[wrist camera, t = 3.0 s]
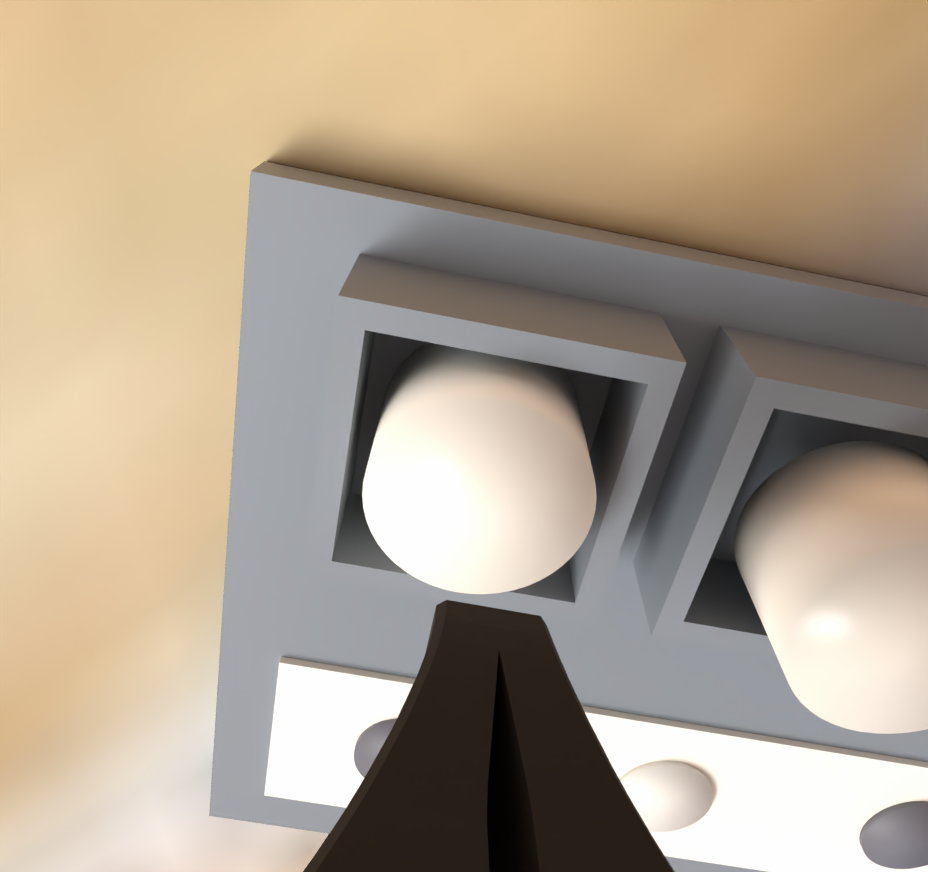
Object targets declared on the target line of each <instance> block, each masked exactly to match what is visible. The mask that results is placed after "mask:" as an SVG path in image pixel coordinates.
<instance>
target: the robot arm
mask: <svg viewBox="0 0 928 872" xmlns="http://www.w3.org/2000/svg"><path fill="white" fill-rule="evenodd" d="M303 872H675V871H674V870H673V868H672V867H671V865H670V863H669V862H668V860H667V859H666V857H665V856H664V854H663V852H662V851H661V849H660V848H659V846H658V844H657V843H656V841H655V840H654V838H653V836H652V835H651V833H650V831H649V830H648V828H647V826H646V825H645V823H644V821H643V819H642V818H641V816H640V814H639V813H638V811H637V809H636V808H635V806H634V804H633V802H632V801H631V799H630V797H629V796H628V794H627V792H626V790H625V788H624V787H623V785H622V783H621V781H620V779H619V778H618V776H617V774H616V772H615V770H614V769H613V767H612V765H611V763H610V761H609V759H608V757H607V755H606V753H605V751H604V749H603V747H602V745H601V743H600V742H599V740H598V738H597V736H596V734H595V732H594V730H593V728H592V726H591V724H590V722H589V720H588V718H587V716H586V714H585V712H584V710H583V708H582V706H581V704H580V701H579V699H578V697H577V695H576V693H575V691H574V688H573V686H572V684H571V682H570V680H569V678H568V675H567V673H566V671H565V668H564V666H563V664H562V662H561V659H560V657H559V654H558V652H557V650H556V647H555V645H554V642H553V640H552V638H551V635H550V632H549V630H548V627H547V625H546V623H545V622H544V620H543V619H542V617H541V616H539V615H533V614H527V613H521V612H515V611H509V610H504V609H498V608H492V607H486V606H480V605H475V604H469V603H463V602H457V601H451V600H445V601H443V602H441V603H440V604H438V605H436V609H435V613H434V617H433V622H432V626H431V631H430V635H429V639H428V644H427V648H426V653H425V656H424V659H423V661H422V664H421V667H420V669H419V672H418V674H417V677H416V679H415V681H414V683H413V685H412V688H411V690H410V692H409V694H408V696H407V698H406V701H405V703H404V705H403V707H402V709H401V711H400V713H399V716H398V718H397V720H396V722H395V724H394V726H393V728H392V729H391V731H390V733H389V735H388V737H387V739H386V740H385V742H384V744H383V746H382V748H381V749H380V751H379V753H378V755H377V756H376V758H375V760H374V762H373V764H372V765H371V767H370V769H369V771H368V772H367V774H366V776H365V778H364V780H363V781H362V783H361V785H360V786H359V788H358V790H357V791H356V793H355V794H354V796H353V798H352V799H351V801H350V803H349V804H348V806H347V807H346V809H345V811H344V812H343V814H342V815H341V817H340V818H339V820H338V821H337V823H336V824H335V826H334V827H333V829H332V830H331V832H330V833H329V835H328V836H327V838H326V839H325V841H324V842H323V844H322V845H321V847H320V848H319V850H318V851H317V853H316V854H315V856H314V857H313V859H312V860H311V861H310V863H309V864H308V866H307V867H306V868H305V870H304V871H303Z"/></svg>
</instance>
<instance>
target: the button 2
mask: <svg viewBox="0 0 928 872" xmlns="http://www.w3.org/2000/svg"><path fill="white" fill-rule="evenodd" d="M596 498H597V497H596V484H595V479H594V475H593V470H592V465H591V461H590V456H589V452H588V447H587V443H586V438H585V433H584V429H583V424H582V420H581V415H580V411H579V406H578V402H577V397H576V393H575V391H574V388H573V386H572V383H571V381H570V380H569V378H568V376H567V374H566V373H565V371H564V370H563V369H562V368H560V367H555V366H550V365H544V364H539V363H534V362H529V361H524V360H518V359H513V358H508V357H503V356H497V355H492V354H487V353H482V352H476V351H471V350H466V349H461V348H456V347H450V346H445V345H440V344H435V343H427V344H426V345H424V346H422V347H421V348H420V349H418V350H417V351H415V352H414V353H413V354H412V355H411V356H410V357H409V358H408V359H407V360H406V361H405V362H404V363H403V364H402V365H401V367H400V368H399V369H398V370H397V372H396V374H395V375H394V377H393V379H392V380H391V382H390V385H389V387H388V390H387V392H386V396H385V400H384V404H383V407H382V411H381V415H380V419H379V423H378V426H377V430H376V434H375V438H374V442H373V445H372V449H371V453H370V457H369V461H368V464H367V468H366V472H365V476H364V481H363V491H362V499H363V509H364V513H365V517H366V521H367V524H368V526H369V529H370V531H371V533H372V535H373V537H374V538H375V540H376V542H377V544H378V545H379V546H380V547H381V549H382V550H383V551H384V553H385V554H386V555H387V556H388V557H389V558H390V559H391V560H392V561H393V562H394V563H395V564H396V565H398V566H399V567H400V568H401V569H403V570H404V571H405V572H407V573H408V574H410V575H412V576H413V577H415V578H417V579H419V580H421V581H423V582H425V583H427V584H429V585H432V586H435V587H438V588H441V589H444V590H449V591H453V592H458V593H467V594H494V593H502V592H507V591H513V590H516V589H519V588H523V587H526V586H529V585H531V584H533V583H536V582H538V581H540V580H542V579H544V578H545V577H547V576H549V575H551V574H552V573H554V572H555V571H556V570H558V569H559V568H560V567H562V566H563V565H564V564H565V563H566V562H567V561H568V560H569V559H570V558H571V557H572V556H573V555H574V554H575V553H576V551H577V550H578V549H579V547H580V546H581V545H582V543H583V541H584V540H585V538H586V536H587V534H588V532H589V530H590V527H591V525H592V522H593V518H594V514H595V509H596Z"/></svg>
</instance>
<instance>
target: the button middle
mask: <svg viewBox="0 0 928 872" xmlns="http://www.w3.org/2000/svg"><path fill="white" fill-rule="evenodd" d="M734 554H735V560H736V563H737V566H738V569H739V571H740V574H741V576H742V578H743V581H744V583H745V585H746V587H747V590H748V592H749V594H750V597H751V599H752V601H753V603H754V606H755V608H756V610H757V613H758V615H759V617H760V619H761V622H762V624H763V626H764V629H765V631H766V633H767V635H768V638H769V640H770V642H771V645H772V647H773V649H774V651H775V654H776V656H777V658H778V661H779V663H780V665H781V667H782V670H783V672H784V674H785V677H786V679H787V681H788V683H789V685H790V687H791V689H792V691H793V693H794V694H795V696H796V697H797V698H798V700H799V701H800V702H801V703H802V704H803V705H804V706H805V707H806V708H807V709H808V710H809V711H811V712H812V713H814V714H815V715H817V716H818V717H820V718H821V719H823V720H825V721H827V722H830V723H832V724H834V725H837V726H840V727H843V728H846V729H850V730H855V731H859V732H867V733H875V734H897V733H909V732H915V731H922V730H927V729H928V461H927V460H926V459H925V458H924V457H922V456H920V455H919V454H917V453H915V452H914V451H911V450H909V449H906V448H904V447H902V446H898V445H894V444H890V443H885V442H878V441H851V442H842V443H837V444H833V445H828V446H825V447H822V448H819V449H815V450H813V451H810V452H808V453H806V454H803V455H801V456H799V457H797V458H795V459H794V460H792V461H790V462H788V463H786V464H785V465H784V466H782V467H781V468H779V469H778V470H776V471H775V472H774V473H773V474H771V475H770V476H769V477H768V478H767V479H766V480H765V481H764V482H763V483H762V484H761V485H760V486H759V487H758V488H757V489H756V490H755V491H754V493H753V494H752V495H751V497H750V498H749V500H748V501H747V503H746V504H745V506H744V508H743V510H742V512H741V514H740V517H739V519H738V522H737V525H736V530H735V535H734Z"/></svg>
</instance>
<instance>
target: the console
mask: <svg viewBox="0 0 928 872" xmlns="http://www.w3.org/2000/svg"><path fill="white" fill-rule="evenodd" d="M427 343H435V344H440V345H445V346H450V347H456V348H461V349H466V350H471V351H476V352H482V353H487V354H492V355H497V356H503V357H508V358H513V359H518V360H524V361H529V362H534V363H539V364H544V365H550V366H555V367H560V368H562V369H563V370H564V371H565V373H566V374H567V376H568V378H569V380H570V381H571V383H572V386H573V388H574V391H575V393H576V397H577V402H578V406H579V411H580V415H581V420H582V424H583V429H584V433H585V438H586V443H587V447H588V452H589V456H590V461H591V465H592V470H593V475H594V479H595V484H596V497H597V498H596V509H595V514H594V518H593V522H592V525H591V527H590V530H589V532H588V534H587V536H586V538H585V540H584V541H583V543H582V545H581V546H580V547H579V549H578V550H577V551H576V553H575V554H574V555H573V556H572V557H571V558H570V559H569V560H568V561H567V562H566V563H565V564H564V565H563V566H562V567H560V568H559V569H558V570H556V571H555V572H554V573H552V574H551V575H549V576H547V577H545V578H544V579H542V580H540V581H538V582H536V583H533V584H531V585H529V586H526V587H523V588H519V589H516V590H513V591H507V592H502V593H494V594H467V593H458V592H453V591H449V590H444V589H441V588H438V587H435V586H432V585H429V584H427V583H425V582H423V581H421V580H419V579H417V578H415V577H413V576H412V575H410V574H408V573H407V572H405V571H404V570H403V569H401V568H400V567H399V566H398V565H396V564H395V563H394V562H393V561H392V560H391V559H390V558H389V557H388V556H387V555H386V554H385V553H384V551H383V550H382V549H381V547H380V546H379V545H378V544H377V542H376V540H375V538H374V537H373V535H372V533H371V531H370V529H369V526H368V524H367V521H366V517H365V513H364V509H363V499H362V491H363V481H364V476H365V472H366V468H367V464H368V461H369V457H370V453H371V449H372V445H373V442H374V438H375V434H376V430H377V426H378V423H379V419H380V415H381V411H382V407H383V404H384V400H385V396H386V392H387V390H388V387H389V385H390V382H391V380H392V379H393V377H394V375H395V374H396V372H397V370H398V369H399V368H400V367H401V365H402V364H403V363H404V362H405V361H406V360H407V359H408V358H409V357H410V356H411V355H412V354H413V353H414V352H415V351H417V350H418V349H420V348H421V347H422V346H424V345H426V344H427ZM851 441H878V442H885V443H890V444H894V445H898V446H902V447H904V448H906V449H909V450H911V451H914V452H915V453H917V454H919V455H920V456H922V457H924V458H925V459H926V460H927V461H928V296H923V295H918V294H913V293H908V292H904V291H899V290H894V289H889V288H884V287H879V286H874V285H869V284H864V283H859V282H854V281H850V280H845V279H840V278H835V277H830V276H825V275H820V274H815V273H810V272H805V271H800V270H795V269H791V268H786V267H781V266H776V265H771V264H766V263H761V262H756V261H751V260H746V259H741V258H737V257H732V256H727V255H722V254H717V253H712V252H707V251H702V250H697V249H692V248H687V247H683V246H678V245H673V244H668V243H663V242H658V241H653V240H648V239H643V238H638V237H633V236H629V235H624V234H619V233H614V232H609V231H604V230H599V229H594V228H589V227H584V226H579V225H575V224H570V223H565V222H560V221H555V220H550V219H545V218H540V217H535V216H530V215H525V214H520V213H516V212H511V211H506V210H501V209H496V208H491V207H486V206H481V205H476V204H471V203H466V202H462V201H457V200H452V199H447V198H442V197H437V196H432V195H427V194H422V193H417V192H412V191H408V190H403V189H398V188H393V187H388V186H383V185H378V184H373V183H368V182H363V181H358V180H354V179H349V178H344V177H339V176H334V175H329V174H324V173H319V172H314V171H309V170H304V169H300V168H295V167H290V166H285V165H280V164H275V163H270V162H265V161H264V162H263V163H262V164H260V165H259V166H257V167H256V168H255V169H253V170H252V171H251V175H250V191H249V207H248V222H247V238H246V253H245V269H244V285H243V300H242V316H241V331H240V347H239V362H238V378H237V394H236V409H235V425H234V440H233V456H232V472H231V487H230V503H229V518H228V534H227V550H226V565H225V581H224V596H223V612H222V627H221V643H220V659H219V674H218V690H217V705H216V721H215V737H214V752H213V768H212V783H211V799H210V814H209V816H215V817H222V818H228V819H235V820H242V821H249V822H255V823H262V824H269V825H275V826H282V827H289V828H296V829H302V830H309V831H316V832H322V833H330V832H331V830H332V829H333V827H334V826H335V824H336V823H337V821H338V820H339V818H340V817H341V815H342V814H343V812H344V811H345V809H346V807H347V806H348V804H349V803H350V801H351V799H352V798H353V796H354V794H355V793H356V791H357V790H358V788H359V786H360V785H361V783H362V781H363V780H364V778H365V776H366V774H367V772H368V771H369V769H370V767H371V765H372V764H373V762H374V760H375V758H376V756H377V755H378V753H379V751H380V749H381V748H382V746H383V744H384V742H385V740H386V739H387V737H388V735H389V733H390V731H391V729H392V728H393V726H394V724H395V722H396V720H397V718H398V716H399V713H400V711H401V709H402V707H403V705H404V703H405V701H406V698H407V696H408V694H409V692H410V690H411V688H412V685H413V683H414V681H415V679H416V677H417V674H418V672H419V669H420V667H421V664H422V661H423V659H424V656H425V653H426V648H427V644H428V639H429V635H430V631H431V626H432V622H433V617H434V613H435V609H436V605H438V604H440V603H441V602H443V601H445V600H451V601H457V602H463V603H469V604H475V605H480V606H486V607H492V608H498V609H504V610H509V611H515V612H521V613H527V614H533V615H539V616H541V617H542V619H543V620H544V622H545V623H546V625H547V627H548V630H549V632H550V635H551V638H552V640H553V642H554V645H555V647H556V650H557V652H558V654H559V657H560V659H561V662H562V664H563V666H564V668H565V671H566V673H567V675H568V678H569V680H570V682H571V684H572V686H573V688H574V691H575V693H576V695H577V697H578V699H579V701H580V704H581V706H582V708H583V710H584V712H585V714H586V716H587V718H588V720H589V722H590V724H591V726H592V728H593V730H594V732H595V734H596V736H597V738H598V740H599V742H600V743H601V745H602V747H603V749H604V751H605V753H606V755H607V757H608V759H609V761H610V763H611V765H612V767H613V769H614V770H615V772H616V774H617V776H618V778H619V779H620V781H621V783H622V785H623V787H624V788H625V790H626V792H627V794H628V796H629V797H630V799H631V801H632V802H633V804H634V806H635V808H636V809H637V811H638V813H639V814H640V816H641V818H642V819H643V821H644V823H645V825H646V826H647V828H648V830H649V831H650V833H651V835H652V836H653V838H654V840H655V841H656V843H657V844H658V846H659V848H660V849H661V851H662V852H663V854H664V856H665V857H666V859H667V860H668V862H669V863H670V865H671V867H672V868H673V870H674V871H675V872H928V729H927V730H922V731H915V732H909V733H897V734H875V733H867V732H859V731H855V730H850V729H846V728H843V727H840V726H837V725H834V724H832V723H830V722H827V721H825V720H823V719H821V718H820V717H818V716H817V715H815V714H814V713H812V712H811V711H809V710H808V709H807V708H806V707H805V706H804V705H803V704H802V703H801V702H800V701H799V700H798V698H797V697H796V696H795V694H794V693H793V691H792V689H791V687H790V685H789V683H788V681H787V679H786V677H785V674H784V672H783V670H782V667H781V665H780V663H779V661H778V658H777V656H776V654H775V651H774V649H773V647H772V645H771V642H770V640H769V638H768V635H767V633H766V631H765V629H764V626H763V624H762V622H761V619H760V617H759V615H758V613H757V610H756V608H755V606H754V603H753V601H752V599H751V597H750V594H749V592H748V590H747V587H746V585H745V583H744V581H743V578H742V576H741V574H740V571H739V569H738V566H737V563H736V560H735V554H734V535H735V530H736V525H737V522H738V519H739V517H740V514H741V512H742V510H743V508H744V506H745V504H746V503H747V501H748V500H749V498H750V497H751V495H752V494H753V493H754V491H755V490H756V489H757V488H758V487H759V486H760V485H761V484H762V483H763V482H764V481H765V480H766V479H767V478H768V477H769V476H770V475H771V474H773V473H774V472H775V471H776V470H778V469H779V468H781V467H782V466H784V465H785V464H786V463H788V462H790V461H792V460H794V459H795V458H797V457H799V456H801V455H803V454H806V453H808V452H810V451H813V450H815V449H819V448H822V447H825V446H828V445H833V444H837V443H842V442H851Z"/></svg>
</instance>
